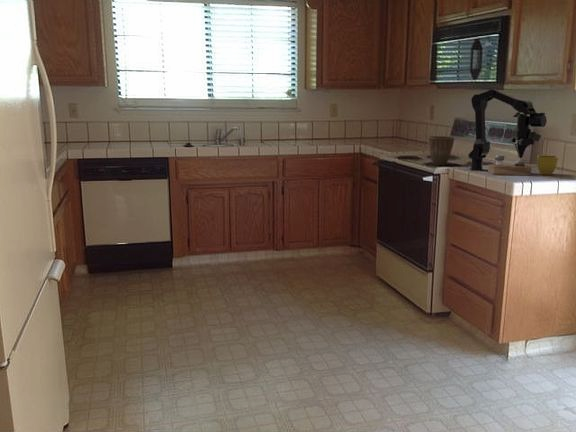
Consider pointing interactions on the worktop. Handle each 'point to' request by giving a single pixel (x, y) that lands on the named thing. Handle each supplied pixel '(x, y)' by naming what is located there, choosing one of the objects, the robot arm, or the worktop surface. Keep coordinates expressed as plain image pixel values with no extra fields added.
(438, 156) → the plant pot
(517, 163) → the knob
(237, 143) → the worktop surface
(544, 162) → the flower pot
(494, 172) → the mount
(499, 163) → the knob
